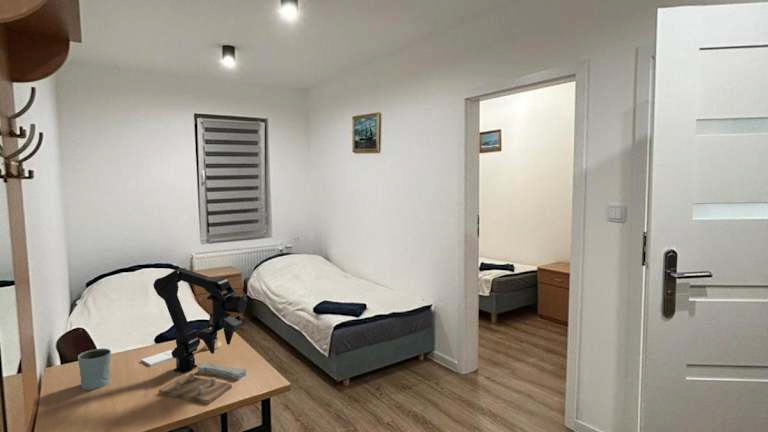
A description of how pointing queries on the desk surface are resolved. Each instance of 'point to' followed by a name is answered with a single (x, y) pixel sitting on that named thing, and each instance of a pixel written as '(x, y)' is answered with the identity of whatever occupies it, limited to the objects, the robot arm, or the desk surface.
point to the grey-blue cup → (94, 368)
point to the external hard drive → (158, 358)
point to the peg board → (195, 389)
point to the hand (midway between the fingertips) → (220, 348)
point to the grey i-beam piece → (222, 371)
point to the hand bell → (217, 342)
